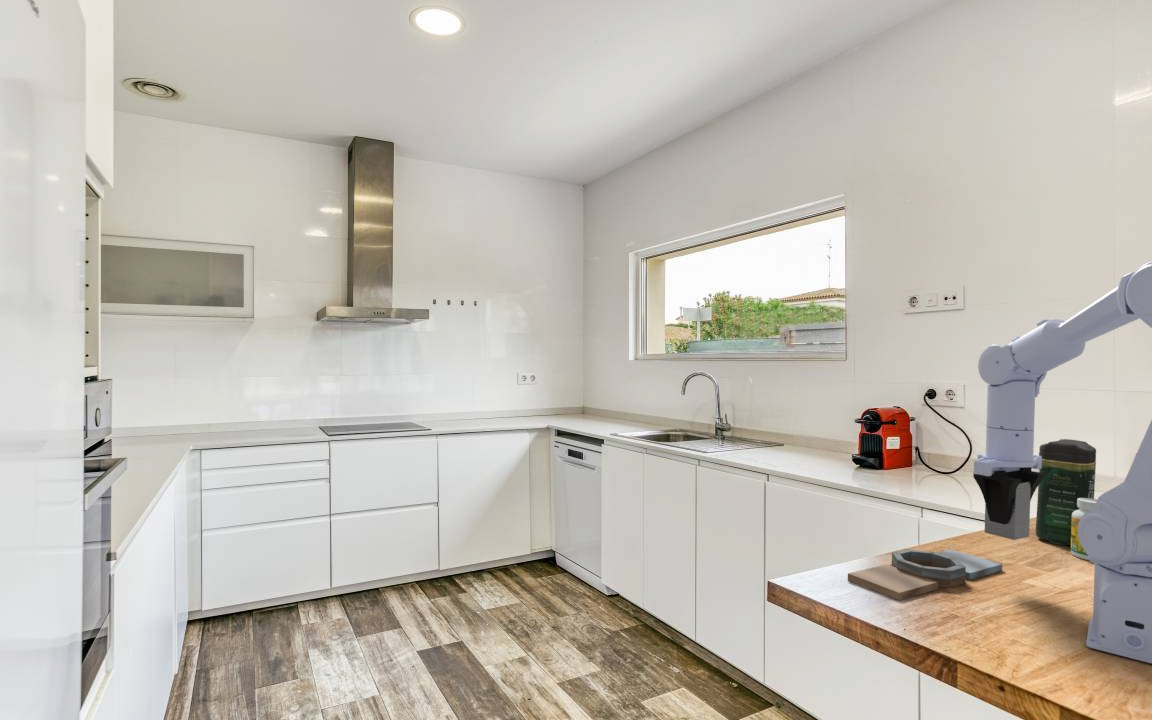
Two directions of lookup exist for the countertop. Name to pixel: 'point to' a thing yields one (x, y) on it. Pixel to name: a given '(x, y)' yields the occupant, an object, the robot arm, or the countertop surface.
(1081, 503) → the supplement bottle
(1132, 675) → the countertop surface
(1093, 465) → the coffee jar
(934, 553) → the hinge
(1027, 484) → the grey metal brick
